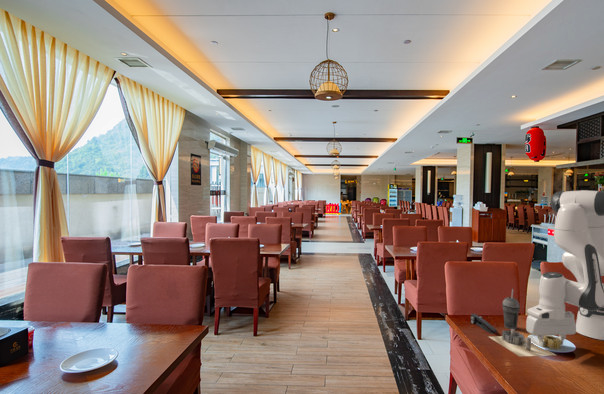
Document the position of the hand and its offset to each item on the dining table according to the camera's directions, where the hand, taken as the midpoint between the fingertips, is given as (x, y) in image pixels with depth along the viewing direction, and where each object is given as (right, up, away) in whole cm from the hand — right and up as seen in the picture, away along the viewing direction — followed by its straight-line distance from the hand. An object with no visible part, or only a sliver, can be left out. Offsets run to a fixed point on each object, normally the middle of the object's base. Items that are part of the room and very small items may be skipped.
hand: (550, 344), depth 137 cm
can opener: (-18, -2, +18) cm, 26 cm away
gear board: (-13, -1, 0) cm, 13 cm away
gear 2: (0, -2, 0) cm, 2 cm away
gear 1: (-13, 0, +4) cm, 14 cm away
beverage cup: (-5, -2, +19) cm, 19 cm away
